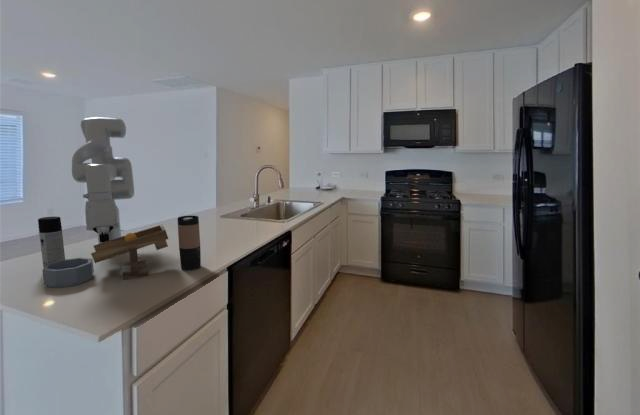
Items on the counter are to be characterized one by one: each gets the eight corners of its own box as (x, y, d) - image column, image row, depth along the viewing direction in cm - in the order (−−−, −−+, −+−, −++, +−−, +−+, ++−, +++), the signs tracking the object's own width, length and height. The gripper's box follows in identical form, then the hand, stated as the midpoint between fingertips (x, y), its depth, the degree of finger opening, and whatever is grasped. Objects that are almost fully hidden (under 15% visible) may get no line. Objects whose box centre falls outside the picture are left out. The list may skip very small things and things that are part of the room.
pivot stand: (122, 265, 128) (120, 239, 127) (145, 262, 133) (143, 237, 131) (122, 280, 113) (119, 251, 112) (148, 276, 117) (145, 248, 116)
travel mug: (193, 263, 132) (190, 214, 129) (205, 266, 128) (202, 216, 124) (176, 268, 126) (173, 217, 123) (188, 272, 121) (184, 220, 118)
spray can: (52, 266, 127) (45, 216, 124) (70, 265, 128) (64, 216, 124) (39, 272, 120) (32, 219, 117) (58, 271, 121) (52, 219, 118)
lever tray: (101, 255, 129) (95, 240, 127) (165, 235, 140) (160, 220, 138) (98, 271, 112) (90, 253, 110) (171, 246, 123) (165, 230, 121)
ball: (125, 231, 121) (137, 232, 123) (123, 242, 121) (135, 242, 124) (125, 233, 118) (137, 234, 120) (123, 244, 118) (136, 245, 120)
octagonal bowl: (50, 277, 115) (47, 261, 114) (94, 271, 122) (93, 255, 121) (42, 291, 104) (39, 273, 103) (92, 283, 111) (90, 266, 110)
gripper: (74, 199, 116) (80, 248, 119) (123, 196, 124) (127, 243, 126) (77, 196, 122) (82, 244, 125) (123, 194, 130) (127, 239, 133)
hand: (104, 243), depth 126 cm, fingers closed
